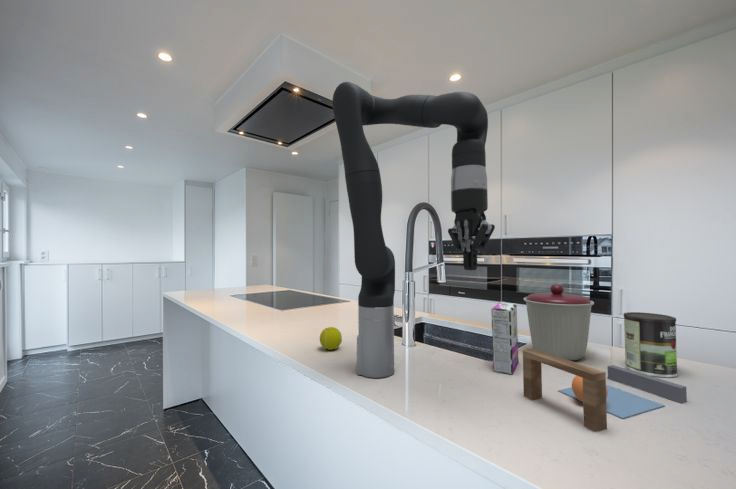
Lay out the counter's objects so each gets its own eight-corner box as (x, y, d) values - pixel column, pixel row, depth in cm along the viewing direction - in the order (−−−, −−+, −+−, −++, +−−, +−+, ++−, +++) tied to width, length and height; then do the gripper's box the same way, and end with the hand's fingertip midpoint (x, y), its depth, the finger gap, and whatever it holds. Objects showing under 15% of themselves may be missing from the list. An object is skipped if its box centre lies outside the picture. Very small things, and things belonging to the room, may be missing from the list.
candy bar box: (499, 359, 93) (498, 302, 94) (518, 362, 90) (517, 303, 91) (491, 371, 84) (490, 307, 84) (512, 375, 81) (511, 309, 81)
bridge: (595, 432, 55) (593, 374, 55) (523, 396, 69) (522, 350, 69) (607, 428, 56) (605, 372, 57) (534, 393, 70) (533, 348, 70)
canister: (517, 357, 95) (515, 285, 96) (533, 343, 109) (531, 280, 109) (591, 371, 83) (589, 289, 84) (599, 354, 97) (597, 283, 98)
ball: (579, 381, 63) (599, 366, 65) (559, 382, 68) (579, 368, 70) (600, 411, 61) (621, 395, 63) (578, 410, 66) (598, 395, 68)
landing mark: (622, 419, 59) (622, 418, 59) (558, 391, 71) (557, 390, 71) (664, 406, 64) (664, 405, 64) (597, 382, 76) (597, 381, 76)
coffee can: (686, 374, 81) (684, 317, 81) (664, 380, 77) (662, 321, 77) (638, 361, 90) (637, 310, 91) (616, 367, 86) (614, 313, 87)
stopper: (681, 403, 65) (680, 388, 65) (607, 378, 78) (607, 366, 78) (686, 401, 66) (686, 386, 66) (613, 377, 79) (612, 365, 79)
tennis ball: (323, 353, 100) (323, 330, 100) (317, 347, 106) (317, 326, 106) (344, 350, 103) (344, 328, 103) (337, 345, 109) (337, 324, 109)
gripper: (505, 184, 65) (507, 271, 65) (463, 195, 78) (464, 268, 77) (475, 182, 63) (477, 272, 62) (436, 194, 75) (437, 269, 74)
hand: (470, 269), depth 70 cm, fingers closed
